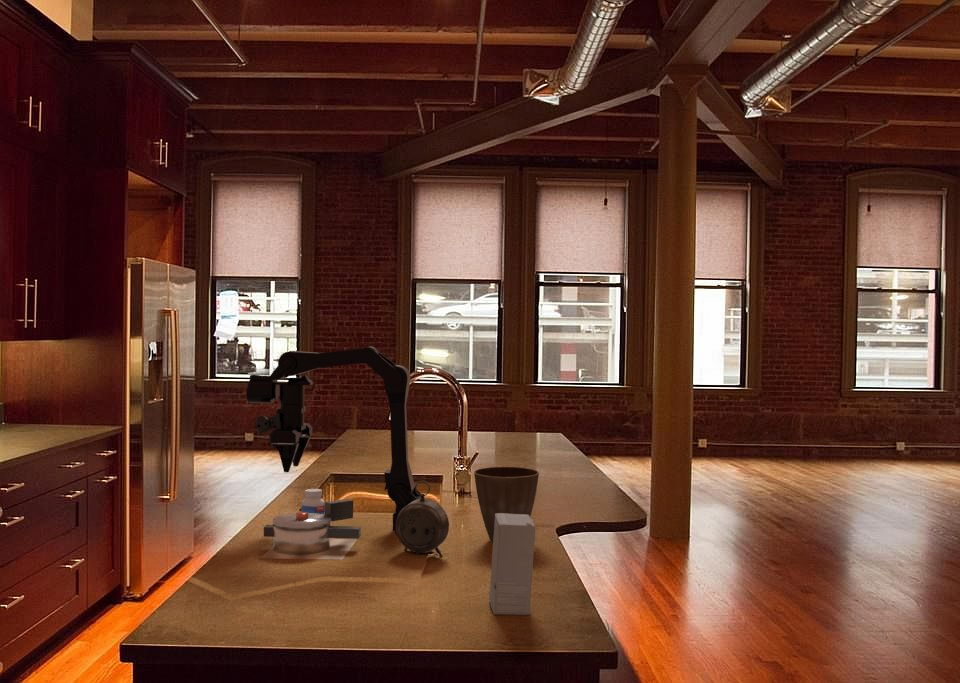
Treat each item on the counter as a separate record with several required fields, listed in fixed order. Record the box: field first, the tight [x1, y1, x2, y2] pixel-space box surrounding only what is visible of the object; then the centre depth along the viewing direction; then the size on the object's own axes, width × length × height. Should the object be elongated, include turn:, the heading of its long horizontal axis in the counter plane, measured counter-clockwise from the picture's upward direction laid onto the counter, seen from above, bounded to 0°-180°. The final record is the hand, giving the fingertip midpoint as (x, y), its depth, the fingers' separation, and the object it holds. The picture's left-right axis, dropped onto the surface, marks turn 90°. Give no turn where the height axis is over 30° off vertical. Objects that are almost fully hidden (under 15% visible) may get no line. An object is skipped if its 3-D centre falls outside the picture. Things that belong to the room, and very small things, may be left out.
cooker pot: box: [263, 524, 362, 555], centre depth 192 cm, size 20×12×5 cm, turn 88°
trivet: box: [260, 538, 358, 561], centre depth 192 cm, size 17×18×1 cm
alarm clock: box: [395, 480, 450, 558], centre depth 189 cm, size 11×5×16 cm, turn 73°
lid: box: [272, 498, 354, 530], centre depth 194 cm, size 19×12×4 cm, turn 133°
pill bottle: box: [300, 488, 325, 515], centre depth 212 cm, size 6×5×10 cm
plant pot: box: [473, 466, 540, 543], centre depth 204 cm, size 15×15×16 cm
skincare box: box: [488, 513, 536, 616], centre depth 154 cm, size 8×7×16 cm
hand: (291, 469), depth 212 cm, fingers open, 9 cm apart
